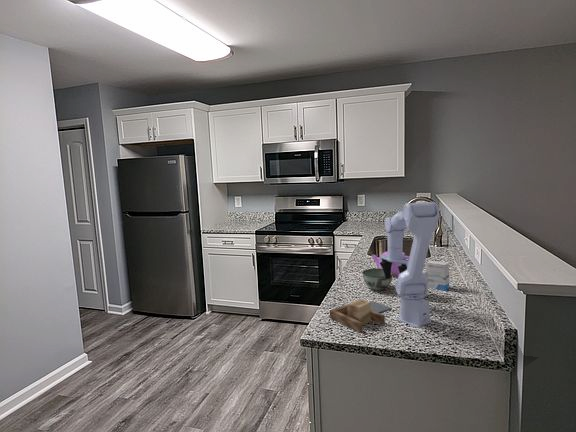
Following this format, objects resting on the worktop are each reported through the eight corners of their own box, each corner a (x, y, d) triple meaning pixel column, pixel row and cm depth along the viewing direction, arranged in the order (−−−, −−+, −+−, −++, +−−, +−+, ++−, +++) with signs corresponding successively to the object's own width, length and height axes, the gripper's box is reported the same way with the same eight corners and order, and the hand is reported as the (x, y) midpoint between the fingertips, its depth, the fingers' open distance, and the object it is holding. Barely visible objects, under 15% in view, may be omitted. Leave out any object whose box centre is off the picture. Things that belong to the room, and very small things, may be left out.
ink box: (449, 288, 160) (449, 262, 159) (445, 291, 156) (445, 265, 155) (430, 285, 166) (430, 260, 165) (425, 287, 162) (425, 262, 161)
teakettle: (387, 279, 177) (387, 255, 176) (370, 271, 194) (370, 248, 192) (417, 275, 182) (417, 251, 181) (398, 267, 198) (397, 245, 197)
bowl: (398, 288, 164) (398, 270, 163) (384, 296, 154) (384, 278, 153) (371, 283, 173) (371, 266, 172) (357, 290, 163) (356, 273, 162)
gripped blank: (371, 320, 129) (370, 302, 128) (359, 327, 125) (358, 307, 124) (359, 317, 133) (359, 299, 132) (347, 323, 128) (347, 304, 127)
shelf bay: (384, 323, 126) (384, 315, 126) (359, 332, 120) (359, 323, 120) (354, 310, 139) (353, 303, 139) (330, 318, 133) (329, 310, 133)
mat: (391, 309, 139) (391, 307, 139) (372, 315, 134) (372, 314, 134) (372, 302, 148) (372, 300, 147) (354, 307, 142) (354, 306, 142)
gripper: (417, 248, 138) (417, 282, 140) (387, 243, 150) (388, 275, 152) (404, 251, 135) (405, 286, 136) (375, 245, 147) (376, 278, 148)
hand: (395, 280), depth 144 cm, fingers open, 7 cm apart
